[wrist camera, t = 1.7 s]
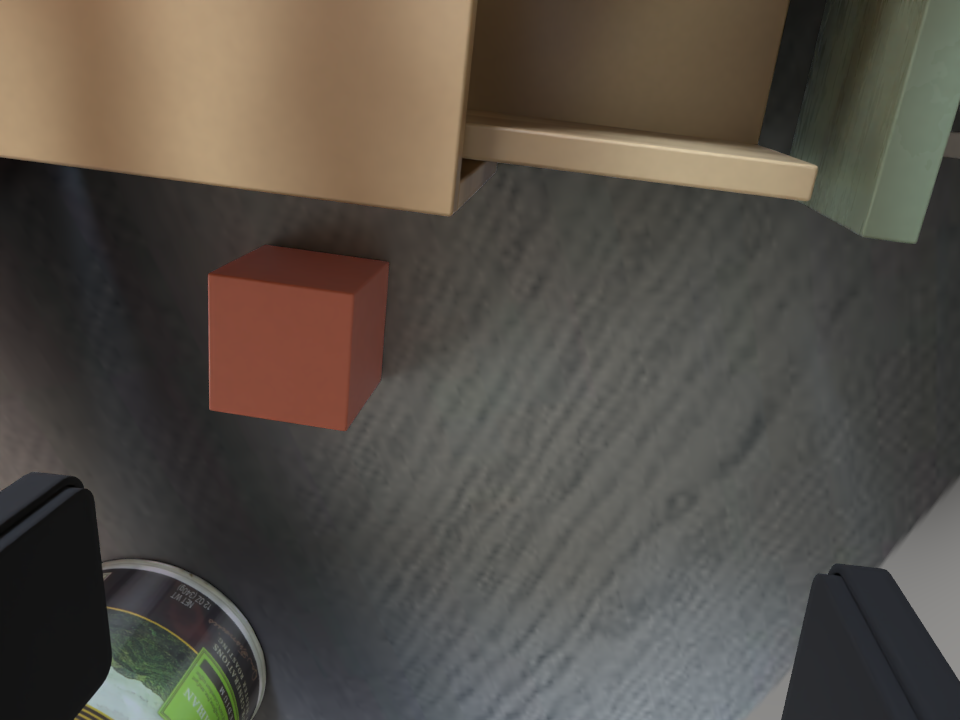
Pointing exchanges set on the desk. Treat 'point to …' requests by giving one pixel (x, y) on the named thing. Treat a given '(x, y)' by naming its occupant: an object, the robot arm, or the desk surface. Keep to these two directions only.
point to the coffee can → (175, 649)
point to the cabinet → (249, 94)
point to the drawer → (724, 99)
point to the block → (296, 335)
